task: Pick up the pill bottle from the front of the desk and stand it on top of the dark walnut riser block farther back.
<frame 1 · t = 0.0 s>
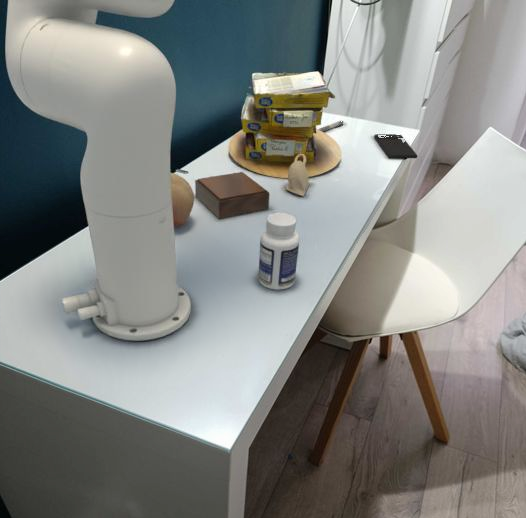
pen: (332, 125, 128), point 1 cm above the table
decorative ornament: (298, 189, 100), on the table
pill bottle: (276, 281, 73), on the table
supplement bottle: (134, 264, 75), on the table
boxes on round tray: (299, 168, 115), on the table
riser: (231, 202, 92), on the table
smartphone: (403, 156, 115), point 1 cm above the table
fruit: (171, 223, 85), on the table
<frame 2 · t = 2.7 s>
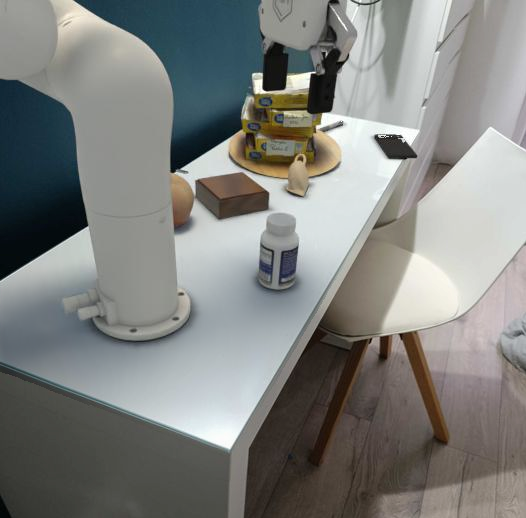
hand: (295, 100, 59), 24 cm above the table, tool pointing down, fingers open, 9 cm apart
nothing on the table moved.
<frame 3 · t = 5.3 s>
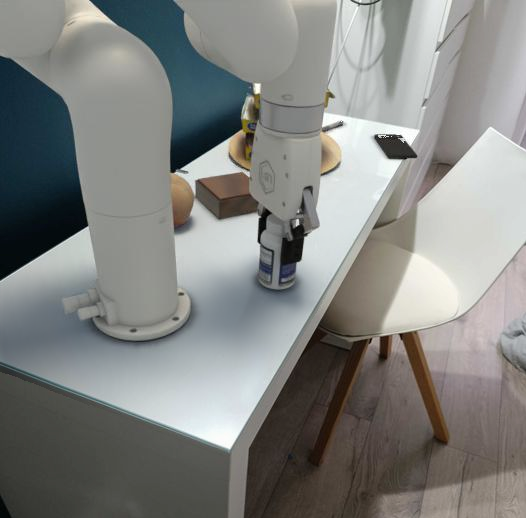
hand: (279, 250, 70), 5 cm above the table, tool pointing down, fingers closed on pill bottle, 5 cm apart
pill bottle: (276, 281, 73), on the table, touching gripper
everything else where it was.
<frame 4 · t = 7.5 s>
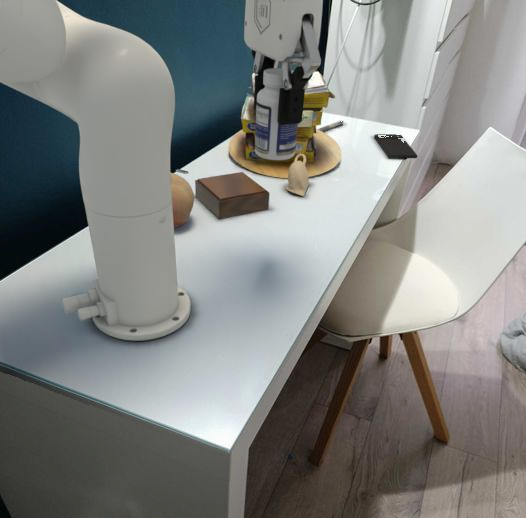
hand: (277, 114, 63), 21 cm above the table, tool pointing down, fingers closed on pill bottle, 5 cm apart
pill bottle: (274, 155, 67), point 16 cm above the table, touching gripper
everything else where it was.
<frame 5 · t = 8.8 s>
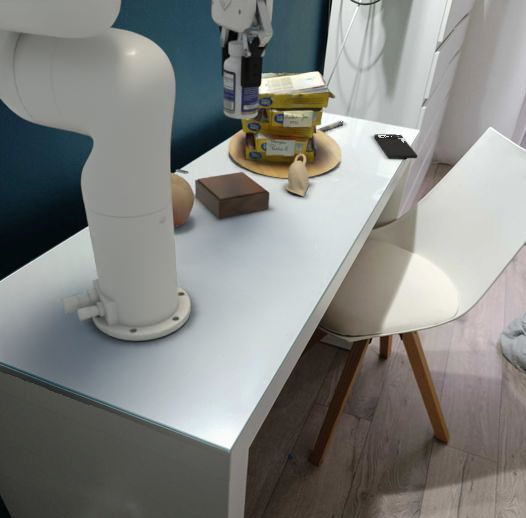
hand: (241, 80, 75), 21 cm above the table, tool pointing down, fingers closed on pill bottle, 5 cm apart
pill bottle: (240, 115, 79), point 16 cm above the table, touching gripper
everything else where it was.
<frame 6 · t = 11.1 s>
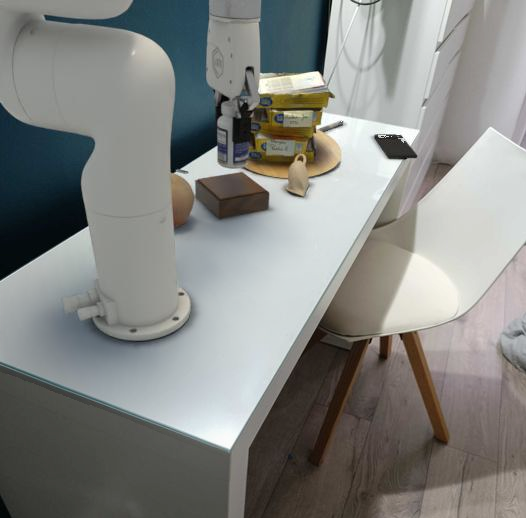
hand: (232, 135, 85), 12 cm above the table, tool pointing down, fingers closed on pill bottle, 5 cm apart
pill bottle: (232, 164, 88), point 7 cm above the table, touching gripper
everything else where it was.
when the fingers open (8 cm above the table, at t = 12.5 s): pill bottle stays where it is, resting on riser.
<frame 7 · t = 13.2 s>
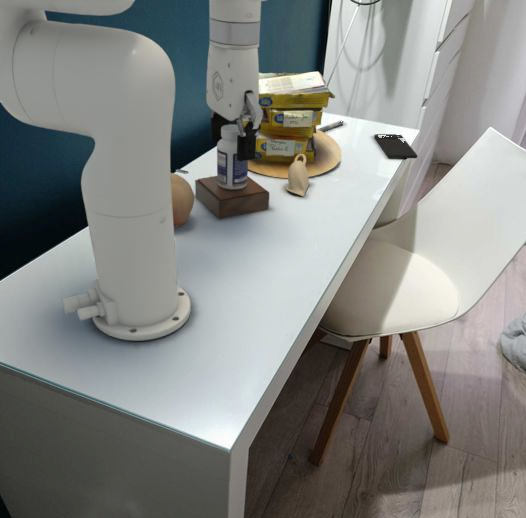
hand: (232, 149, 86), 10 cm above the table, tool pointing down, fingers open, 9 cm apart
pill bottle: (232, 185, 90), point 3 cm above the table, touching riser
everything else where it was.
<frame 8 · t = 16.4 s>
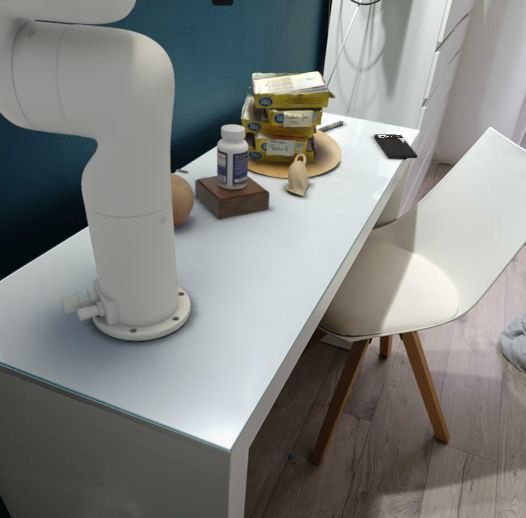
hand: (207, 0, 75), 30 cm above the table, tool pointing down, fingers open, 9 cm apart
nothing on the table moved.
at the end: pill bottle inside the target area on the riser (0.0 cm from its centre), point 3.3 cm above the riser's base; pill bottle tilted 0°; the gripper is holding nothing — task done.
